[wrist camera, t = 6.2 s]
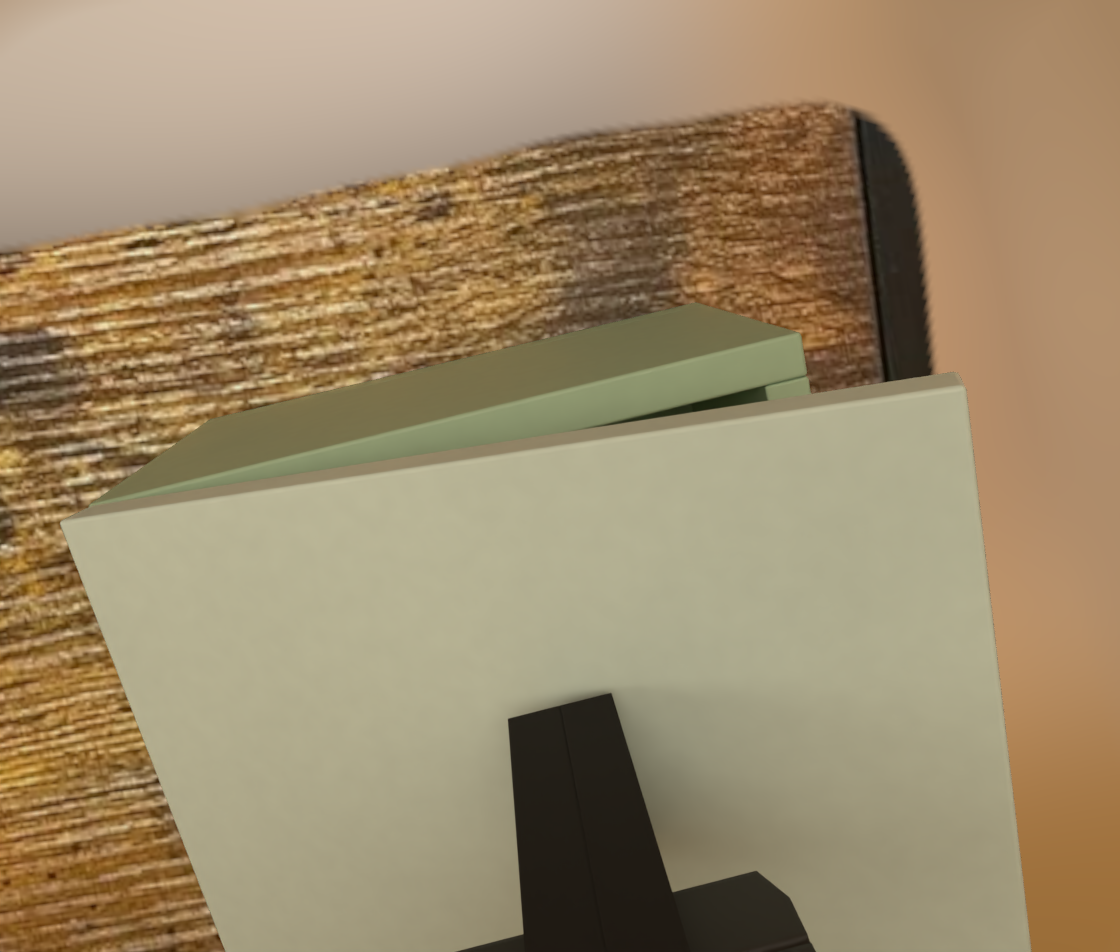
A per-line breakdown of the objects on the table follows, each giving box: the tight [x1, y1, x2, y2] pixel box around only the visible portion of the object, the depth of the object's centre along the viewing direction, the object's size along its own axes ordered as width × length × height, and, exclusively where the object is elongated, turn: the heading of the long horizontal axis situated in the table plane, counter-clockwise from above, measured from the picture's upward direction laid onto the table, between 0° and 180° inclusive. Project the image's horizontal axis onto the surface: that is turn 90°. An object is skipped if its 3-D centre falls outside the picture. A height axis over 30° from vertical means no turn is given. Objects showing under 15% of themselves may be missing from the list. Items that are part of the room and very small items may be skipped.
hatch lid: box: [60, 372, 1032, 952], centre depth 15 cm, size 14×10×1 cm
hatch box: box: [89, 303, 811, 507], centre depth 21 cm, size 13×10×8 cm
